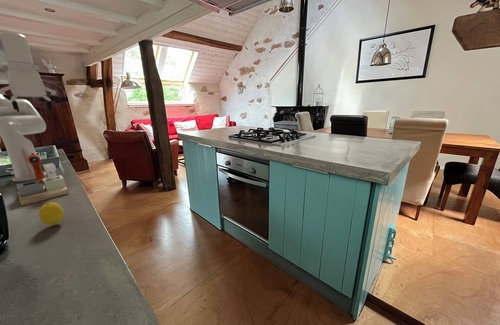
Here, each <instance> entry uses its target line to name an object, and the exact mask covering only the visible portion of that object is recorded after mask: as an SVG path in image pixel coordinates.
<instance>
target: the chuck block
mask: <svg viewBox="0 0 500 325" xmlns="http://www.w3.org/2000/svg"><path fill="white" fill-rule="evenodd" d="M43 186H44V184H42V182H41V180H40V179H39V180H35V179H34V180H29V181H24V182H21V183H16V189H17V193H18V192H19V194H18V196H19V195H20V197H21V198H23V197H27V196H31V195H35V194H40V193H44V192H45V191H44V188H43Z"/></svg>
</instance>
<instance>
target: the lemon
mask: <svg viewBox="0 0 500 325" xmlns="http://www.w3.org/2000/svg"><path fill="white" fill-rule="evenodd" d="M64 214H65V213H64V210H63V208H62V206H61V205H60V204H59V203H57V202H51V201H47V202H46V203H44V204H43V205H42V206H41V207H40V208H39V211H38V216H39V220H40V221H41V222H42V223H43V224H44V225H49V226H50V225H52V226H56V225H57V224H58V223H59V222H60V223H61V221H62V219H64V218H63V217H64Z"/></svg>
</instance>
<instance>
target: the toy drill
mask: <svg viewBox="0 0 500 325" xmlns="http://www.w3.org/2000/svg"><path fill="white" fill-rule="evenodd" d="M28 161H29V163H30V164H31V165H32V167H33V169H34V172H35V177H36V178H35V179H34V180H39V179H40V180H41V182H42V185H44V183H43V180H42V179H45V178H48V177H47V175H44V173H43V172H44V171H43V169H42V165H41V163H42V160H41V157H40V156H39V155H38V154H34V153H31V155H30V156H29V157H28Z"/></svg>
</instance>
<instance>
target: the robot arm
mask: <svg viewBox="0 0 500 325" xmlns="http://www.w3.org/2000/svg"><path fill="white" fill-rule="evenodd" d="M34 63H35V62H34V60H33V56H32V53H31V48H30V45H29V42H28V39H27V37H26V35H24V34H21V33H16V32H11V31H1V32H0V85H7V86H4V87H2V88H0V137H1V140H2V143H3V144H4V146H5V147H4V148H5V149H6V151H7V152H6V153H7V156H8V158H9V161H10V164H11V166H12V169H13V170H12V171H11V172H10V174H11V175H14V177H12V181H13V182H15V183H16V182H17V183H19V182H21V183H22V182H29V181H34V180H35V178H36V177H35V172H34V169H33V167H32V165H31V164H30V163H29V161H28V157H29V156H30V155H31V153H34V154H36V149H35V147H34V144H33V142H32V141H31V140H30V139H28V138H27V137H26V136H25V135H33V134H41V133H44V132H45V131H46V129H47V124H46V122H45V120H44V118H43V117H42V115H40V113H39V112H38V110H37V109H36V108H35V107H34V105H33V104H32V103H31V102H30V101H29V100H27V99H24V98H23V97H27V98H33V97H36V98H41V97H42V99H44V100H45V105H46V108H47V110H48V111H49V112H51V110H52V109H53V107H52V106H53V105H52V101H53V99H54V98H55V96H56V94H57V91H56V90H54V89H53V88H52V89H51V88H49V87H46V86H44V83H43V80H42V79H41V75H40V73H39V72H37V70H40V66H39V65H36V64H34ZM9 90H10V92H11V95H12V96H10V95H8V94H7V93H6V92H7V91H9ZM46 91H47V92H49V93H51V94H50V95H49V96H47V93H46ZM20 97H22V98H20ZM36 155H37V154H36ZM43 173H44V175H45V176H47V172H46V171H43Z"/></svg>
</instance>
